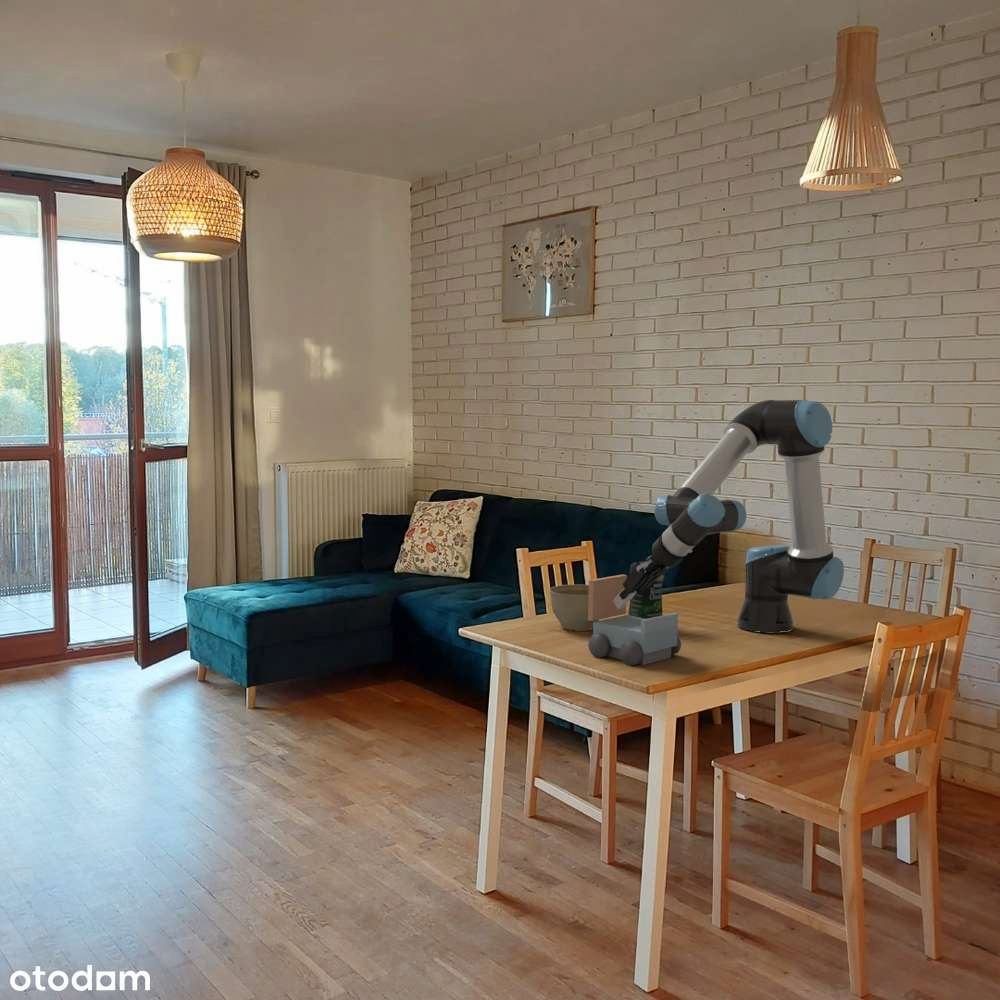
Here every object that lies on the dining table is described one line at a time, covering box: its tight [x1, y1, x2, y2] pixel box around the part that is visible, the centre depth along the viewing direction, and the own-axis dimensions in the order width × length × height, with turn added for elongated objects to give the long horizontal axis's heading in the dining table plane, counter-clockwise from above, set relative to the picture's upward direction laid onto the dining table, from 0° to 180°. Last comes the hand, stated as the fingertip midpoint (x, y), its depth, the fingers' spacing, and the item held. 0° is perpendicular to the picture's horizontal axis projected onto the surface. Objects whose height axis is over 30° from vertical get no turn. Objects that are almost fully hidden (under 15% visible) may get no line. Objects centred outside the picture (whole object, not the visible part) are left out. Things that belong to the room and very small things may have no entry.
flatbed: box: [588, 612, 682, 667], centre depth 250 cm, size 16×17×11 cm
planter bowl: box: [548, 584, 600, 632], centre depth 280 cm, size 16×16×11 cm
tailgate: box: [588, 574, 628, 621], centre depth 256 cm, size 2×13×10 cm, turn 134°
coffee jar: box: [627, 560, 665, 619], centre depth 282 cm, size 10×8×19 cm
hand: (617, 604), depth 253 cm, fingers closed
